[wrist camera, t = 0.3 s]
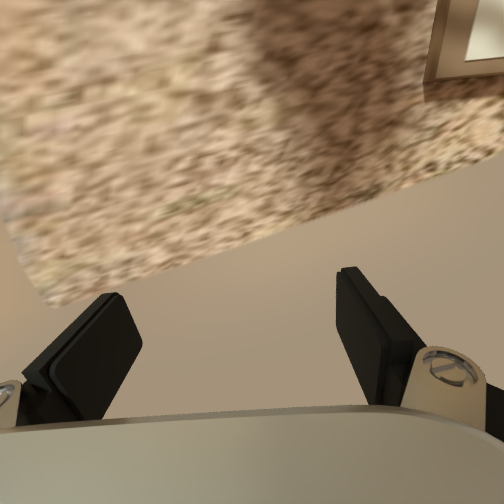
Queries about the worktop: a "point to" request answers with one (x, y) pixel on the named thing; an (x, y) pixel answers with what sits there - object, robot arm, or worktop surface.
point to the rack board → (466, 40)
